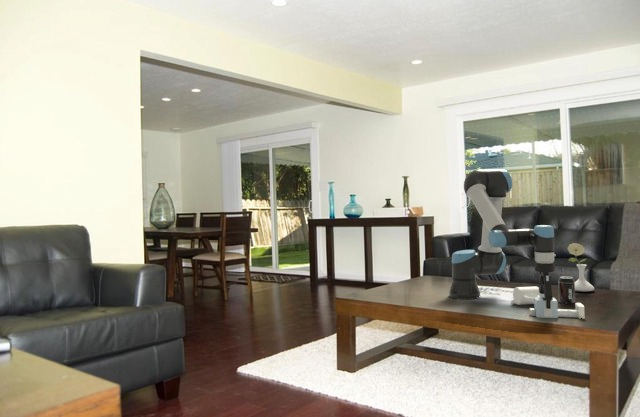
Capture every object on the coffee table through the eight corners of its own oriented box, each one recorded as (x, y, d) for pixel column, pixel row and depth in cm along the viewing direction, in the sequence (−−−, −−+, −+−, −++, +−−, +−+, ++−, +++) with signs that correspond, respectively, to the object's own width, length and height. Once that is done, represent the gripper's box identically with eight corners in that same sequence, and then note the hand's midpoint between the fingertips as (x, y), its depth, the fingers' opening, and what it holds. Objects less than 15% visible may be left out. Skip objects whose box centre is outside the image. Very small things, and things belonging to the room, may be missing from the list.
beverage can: (576, 304, 228) (575, 278, 227) (559, 304, 230) (559, 278, 230) (574, 301, 234) (573, 276, 234) (558, 301, 236) (557, 275, 236)
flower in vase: (598, 291, 257) (597, 243, 257) (587, 294, 251) (586, 244, 250) (573, 288, 268) (573, 241, 267) (562, 290, 261) (561, 243, 261)
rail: (531, 316, 207) (531, 304, 207) (529, 313, 214) (529, 301, 214) (584, 318, 201) (584, 306, 201) (580, 314, 208) (580, 303, 208)
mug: (512, 302, 236) (512, 286, 236) (533, 301, 236) (532, 285, 236) (525, 308, 224) (525, 290, 224) (546, 307, 225) (546, 289, 224)
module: (536, 317, 206) (536, 299, 206) (534, 313, 213) (534, 295, 213) (557, 318, 204) (557, 299, 204) (554, 314, 211) (554, 296, 211)
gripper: (559, 266, 195) (560, 319, 196) (549, 258, 219) (550, 306, 220) (539, 266, 198) (540, 319, 198) (531, 258, 221) (532, 305, 222)
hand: (545, 312), depth 209 cm, fingers open, 13 cm apart
